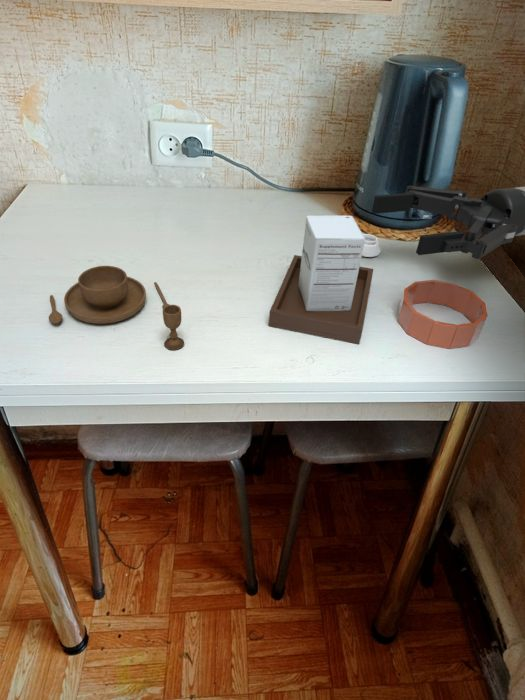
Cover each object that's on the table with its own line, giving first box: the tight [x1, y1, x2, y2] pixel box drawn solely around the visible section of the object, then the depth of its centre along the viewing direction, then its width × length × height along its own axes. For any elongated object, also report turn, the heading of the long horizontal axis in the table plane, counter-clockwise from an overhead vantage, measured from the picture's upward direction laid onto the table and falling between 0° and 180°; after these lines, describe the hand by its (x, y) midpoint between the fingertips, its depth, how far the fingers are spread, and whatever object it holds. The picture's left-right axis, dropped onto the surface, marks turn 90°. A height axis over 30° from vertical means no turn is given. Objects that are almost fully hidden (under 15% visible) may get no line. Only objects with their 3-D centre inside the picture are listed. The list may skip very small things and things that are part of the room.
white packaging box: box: [298, 215, 365, 311], centre depth 77 cm, size 7×7×13 cm
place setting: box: [48, 265, 185, 351], centre depth 73 cm, size 18×20×6 cm
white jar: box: [362, 233, 381, 258], centre depth 94 cm, size 5×3×5 cm
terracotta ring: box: [397, 279, 488, 350], centre depth 78 cm, size 12×12×4 cm
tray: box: [268, 254, 374, 345], centre depth 81 cm, size 18×14×3 cm
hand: (395, 223), depth 75 cm, fingers open, 13 cm apart
